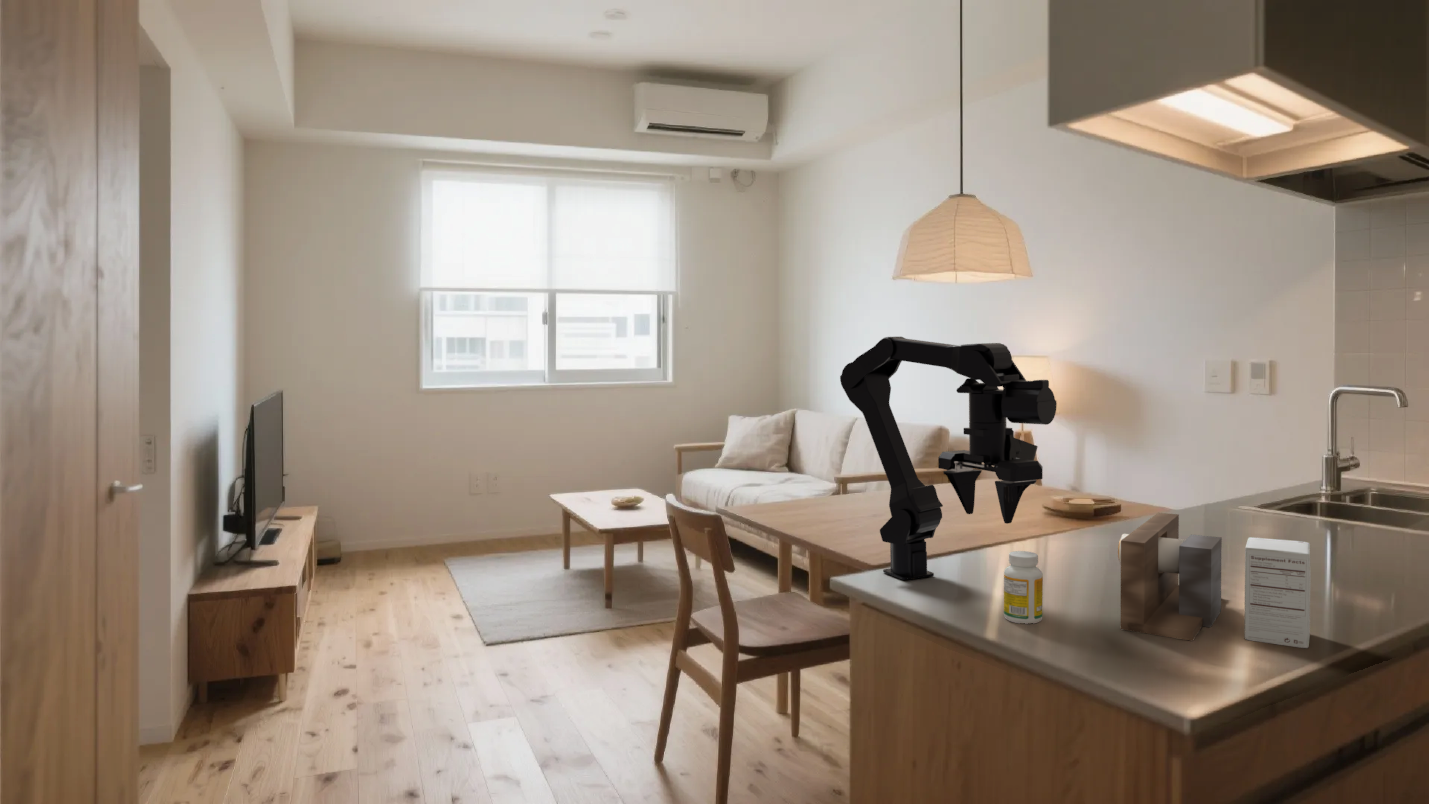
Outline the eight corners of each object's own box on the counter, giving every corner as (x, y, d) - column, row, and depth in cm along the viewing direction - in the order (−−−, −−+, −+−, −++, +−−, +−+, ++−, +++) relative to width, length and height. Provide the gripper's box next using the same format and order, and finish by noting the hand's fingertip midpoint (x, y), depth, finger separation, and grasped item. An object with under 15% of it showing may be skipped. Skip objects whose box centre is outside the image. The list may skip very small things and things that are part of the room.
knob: (1116, 569, 135) (1116, 536, 134) (1124, 563, 139) (1125, 530, 138) (1178, 577, 130) (1178, 543, 129) (1185, 570, 134) (1185, 536, 133)
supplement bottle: (1013, 625, 129) (1012, 559, 128) (997, 614, 134) (997, 550, 133) (1049, 623, 129) (1049, 557, 129) (1032, 612, 135) (1032, 549, 134)
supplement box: (1246, 625, 126) (1247, 535, 126) (1310, 633, 122) (1311, 541, 121) (1242, 640, 120) (1243, 546, 119) (1309, 649, 116) (1310, 552, 115)
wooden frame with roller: (1117, 628, 126) (1117, 540, 125) (1154, 589, 145) (1155, 512, 144) (1201, 642, 120) (1201, 549, 119) (1228, 599, 139) (1229, 518, 138)
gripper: (1070, 422, 139) (1070, 523, 140) (989, 415, 156) (989, 505, 157) (1012, 427, 135) (1013, 530, 136) (935, 419, 152) (936, 511, 153)
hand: (988, 518), depth 145 cm, fingers open, 9 cm apart
